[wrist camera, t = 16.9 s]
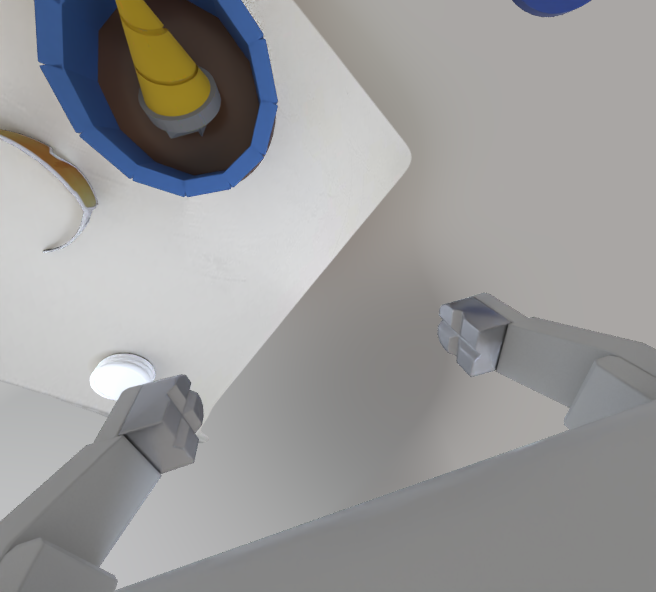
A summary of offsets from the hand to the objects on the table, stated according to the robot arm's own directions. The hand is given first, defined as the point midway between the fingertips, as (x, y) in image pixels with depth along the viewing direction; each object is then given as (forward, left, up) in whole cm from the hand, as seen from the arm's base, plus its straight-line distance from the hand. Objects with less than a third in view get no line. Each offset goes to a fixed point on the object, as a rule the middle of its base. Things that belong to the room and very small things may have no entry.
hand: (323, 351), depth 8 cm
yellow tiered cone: (+5, -11, -21) cm, 24 cm away
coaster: (+37, +29, -41) cm, 63 cm away
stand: (+5, -10, -41) cm, 43 cm away
